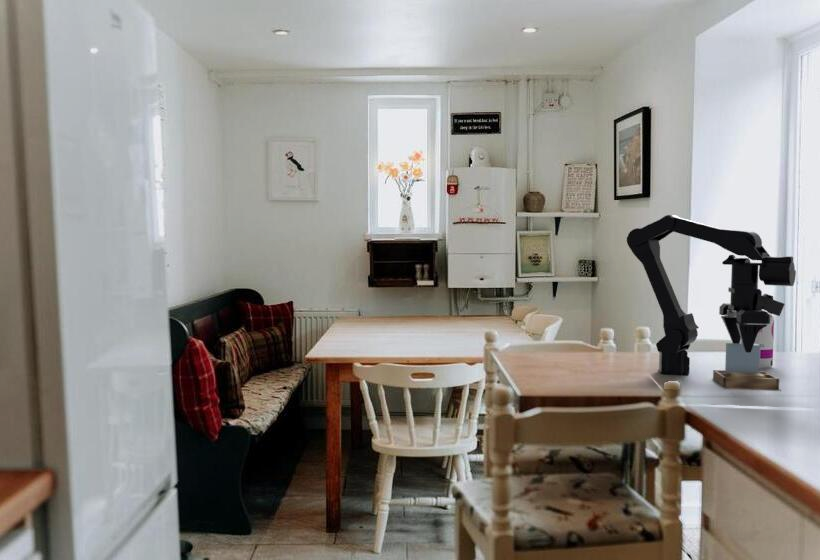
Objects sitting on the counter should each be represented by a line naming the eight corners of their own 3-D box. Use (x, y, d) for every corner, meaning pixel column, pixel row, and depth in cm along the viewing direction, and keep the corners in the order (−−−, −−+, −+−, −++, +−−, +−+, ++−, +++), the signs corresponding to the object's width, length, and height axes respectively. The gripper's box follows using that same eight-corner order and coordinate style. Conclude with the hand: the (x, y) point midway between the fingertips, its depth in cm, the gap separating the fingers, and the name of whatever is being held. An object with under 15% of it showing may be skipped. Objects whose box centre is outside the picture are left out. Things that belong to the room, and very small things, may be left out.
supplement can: (768, 365, 186) (769, 311, 185) (775, 371, 178) (777, 314, 177) (735, 363, 188) (737, 310, 187) (741, 369, 180) (743, 313, 179)
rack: (724, 390, 155) (725, 378, 155) (712, 380, 166) (712, 369, 166) (781, 392, 153) (781, 380, 153) (764, 382, 164) (765, 370, 164)
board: (727, 381, 162) (728, 344, 162) (725, 380, 164) (726, 343, 163) (758, 382, 161) (759, 345, 160) (756, 381, 163) (757, 343, 162)
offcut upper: (734, 380, 157) (734, 375, 157) (730, 377, 161) (730, 372, 161) (764, 381, 156) (764, 376, 156) (759, 378, 160) (759, 373, 160)
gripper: (796, 287, 150) (793, 357, 152) (767, 281, 169) (764, 343, 170) (742, 286, 152) (740, 355, 153) (719, 281, 171) (717, 342, 172)
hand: (742, 349), depth 162 cm, fingers open, 9 cm apart
